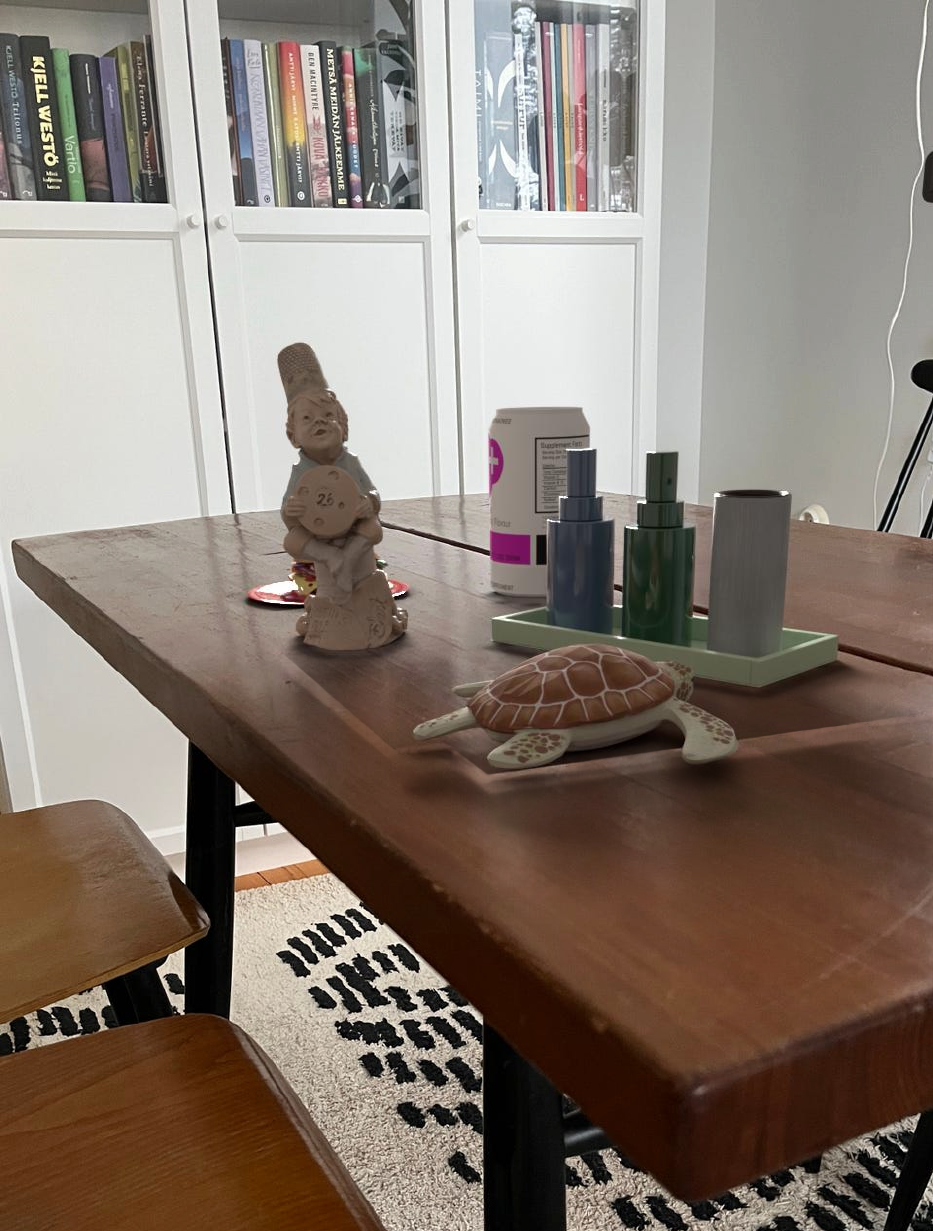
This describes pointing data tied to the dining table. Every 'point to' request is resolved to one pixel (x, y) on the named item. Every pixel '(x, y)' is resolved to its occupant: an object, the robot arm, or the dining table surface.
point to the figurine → (333, 517)
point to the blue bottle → (581, 552)
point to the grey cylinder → (748, 571)
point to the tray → (678, 647)
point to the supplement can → (527, 490)
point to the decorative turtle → (583, 707)
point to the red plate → (307, 584)
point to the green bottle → (659, 560)
